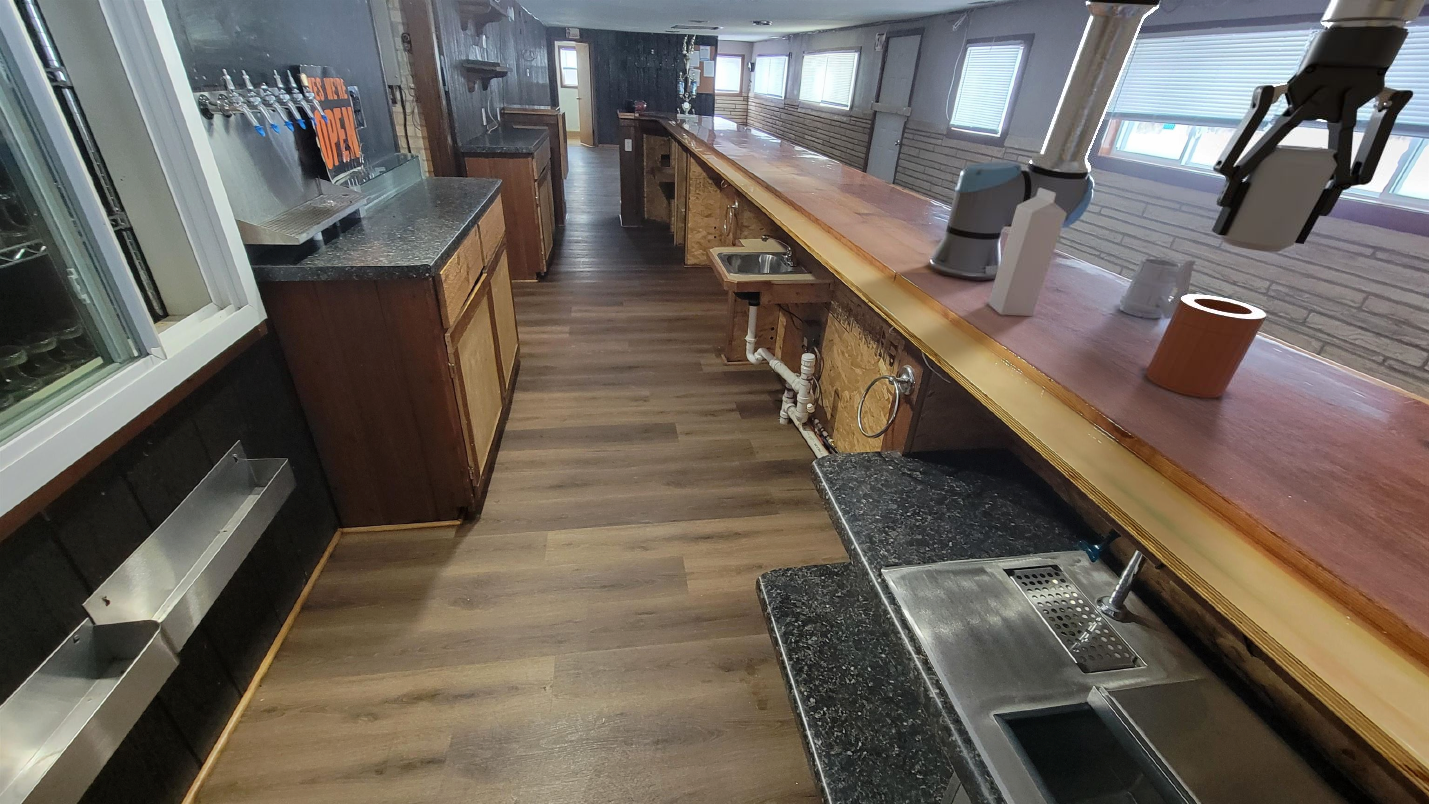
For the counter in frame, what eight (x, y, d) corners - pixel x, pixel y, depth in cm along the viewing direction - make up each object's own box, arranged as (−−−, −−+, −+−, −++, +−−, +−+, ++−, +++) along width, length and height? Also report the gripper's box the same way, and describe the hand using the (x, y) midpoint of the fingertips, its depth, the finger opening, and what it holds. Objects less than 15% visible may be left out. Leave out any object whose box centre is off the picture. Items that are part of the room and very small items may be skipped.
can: (1220, 236, 78) (1265, 141, 72) (1291, 247, 74) (1346, 147, 68) (1211, 244, 74) (1259, 144, 68) (1287, 256, 69) (1345, 150, 63)
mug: (1143, 305, 114) (1169, 246, 108) (1190, 327, 104) (1221, 264, 98) (1108, 305, 114) (1132, 245, 108) (1151, 327, 104) (1181, 263, 98)
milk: (1000, 315, 106) (1038, 192, 95) (987, 304, 111) (1021, 186, 100) (1032, 316, 106) (1073, 194, 95) (1017, 305, 111) (1055, 187, 100)
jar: (1139, 364, 89) (1173, 290, 83) (1210, 376, 86) (1250, 301, 80) (1154, 389, 81) (1192, 310, 75) (1232, 403, 78) (1279, 323, 72)
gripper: (1263, 22, 62) (1171, 233, 73) (1516, 24, 56) (1373, 255, 67) (1238, 29, 68) (1157, 222, 79) (1463, 31, 62) (1340, 241, 73)
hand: (1256, 237), depth 73 cm, fingers closed on can, 7 cm apart
